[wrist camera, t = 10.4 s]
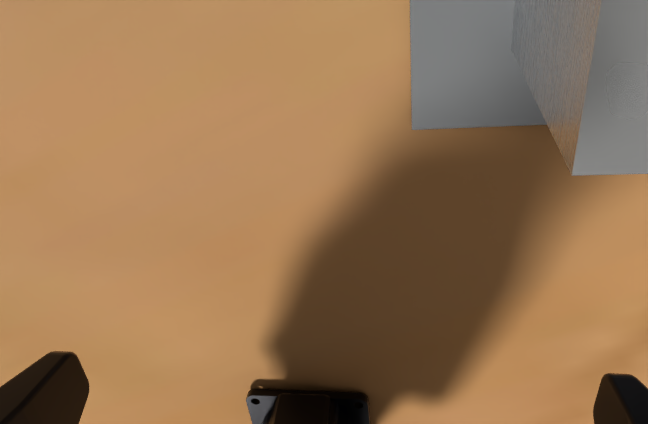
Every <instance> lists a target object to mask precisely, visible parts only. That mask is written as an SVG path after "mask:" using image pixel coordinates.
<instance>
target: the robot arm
mask: <svg viewBox="0 0 648 424" xmlns="http://www.w3.org/2000/svg"><path fill="white" fill-rule="evenodd" d="M88 394H89V382H88V379H87V377H86V375H85V372H84V370H83V368H82V366H81V363H80V361H79V359H78V357H77V355H76V354H74V353H73V352H63V351H53V352H50V353H48V354H46V355H45V356H43V357H42V358H41V359H39V360H38V361H36V362H35V363H34V364H32V365H31V366H29V367H28V368H27V369H25V370H24V371H22V372H21V373H19V374H18V375H17V376H15V377H14V378H12V379H11V380H10V381H8V382H7V383H5V384H4V385H2V386H1V387H0V424H79V421H80V418H81V415H82V412H83V409H84V406H85V403H86V400H87V398H88ZM246 402H247V405H248V409H249V413H250V416H251V420H252V423H253V424H371V423H370V411H369V400H368V397H367V396H366V395H365V394H362V393H352V392H322V391H292V390H263V389H253V390H250V391H249V392H248V395H247V398H246ZM593 417H594V424H648V388H647V387H646V386H645V385H643V384H642V383H641V382H640V381H639V380H638V379H637V378H636V377H634V376H633V375H630V374H614V373H608V374H605V375H604V376H603V377H602V380H601V383H600V386H599V390H598V393H597V397H596V400H595V404H594V409H593Z"/></svg>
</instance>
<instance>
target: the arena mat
mask: <svg viewBox="0 0 648 424" xmlns="http://www.w3.org/2000/svg"><path fill="white" fill-rule="evenodd" d="M514 7H515V0H410V37H411V103H412V130H422V129H447V128H473V127H498V126H524V125H547V123H546V121H545V119H544V117H543V115H542V113H541V111H540V109H539V107H538V105H537V103H536V101H535V99H534V97H533V94H532V92H531V90H530V88H529V86H528V84H527V82H526V80H525V78H524V76H523V74H522V72H521V70H520V68H519V66H518V64H517V61H516V59H515V57H514V55H513V53H512V51H511V42H512V30H513V19H514Z"/></svg>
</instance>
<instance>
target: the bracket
mask: <svg viewBox="0 0 648 424" xmlns="http://www.w3.org/2000/svg"><path fill="white" fill-rule="evenodd" d="M511 51H512V53H513V55H514V57H515V59H516V61H517V64H518V66H519V68H520V70H521V72H522V74H523V76H524V78H525V80H526V82H527V84H528V86H529V88H530V90H531V92H532V94H533V97H534V99H535V101H536V103H537V105H538V107H539V109H540V111H541V113H542V115H543V117H544V119H545V121H546V123H547V125H548V127H549V130H550V132H551V134H552V136H553V138H554V140H555V142H556V144H557V146H558V148H559V150H560V152H561V154H562V156H563V158H564V161H565V163H566V165H567V167H568V169H569V171H570V173H571V175H572V176H573V175H615V174H648V0H515V7H514V19H513V30H512V42H511Z"/></svg>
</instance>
